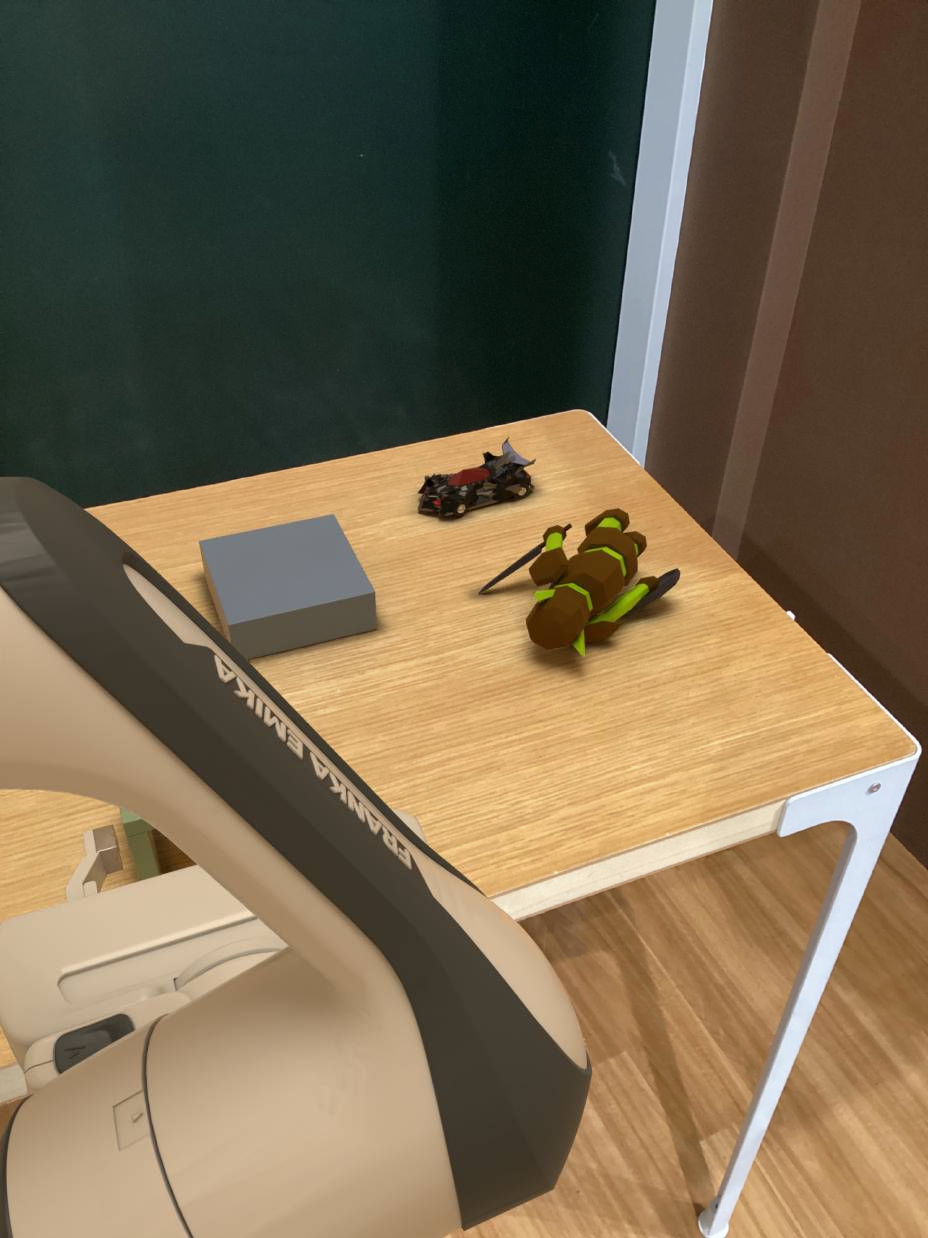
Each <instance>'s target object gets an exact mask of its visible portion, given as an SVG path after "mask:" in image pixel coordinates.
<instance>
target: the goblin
mask: <svg viewBox="0 0 928 1238" xmlns="http://www.w3.org/2000/svg"><path fill="white" fill-rule="evenodd" d="M630 524H631V522H630V516H629V512H626V511H624V510H623V509H621V508H618V507H617V508H611V509H606V510H604V511H602V512H601V513H600V514H598V515H597V516H595V517H594V518H592V519H591V520H589V521H588V522H586V523H585V524H584V532H585V536H586V537H585V538H584V539H583V541H581V542H580V544H579V545H578V547H577V548H576V551H577V554H574V555H572V556H571V557H569V559H568V556H567V554H566V552H565V551H564V549H563V547H564V546H563V545H564V543H563V542H564V541H565V539H566V538H567V536H568V535H567V531H569V530H570V529H572V528H573V525H572V524H571V523H568V524H566V525H565V526H561V525H560V524H556V525H552V526H549V527H547V529H546V530H545V532H544V533H543V534H542V539H543V542H541V543H539V544H537V545H536V546H535V547H534V548H532V549H531V550H529V551H528V552H527V553H525V554H524V555H523V556H521V557H520V558H519V559H517V560H516V561H515V562H513V563H512V564H511V565H510V566H509V565H508V567H507V568H506V569H504V570H503V571H501V572H500V573H499V574H498V575H496V576H494V578H492V579H491V580H490V581H489V582H487V583H486V584H485V585H484V586H483V587H482V588H481V589H480V591H478V593H477V595H480V594H481V593H484V592H486V591H488V590H490V589H491V588H492V587H494V586H495V585H497V584H498V583H500V582H501V581H503V580H504V579H505V578H507V577H509V576H510V575H512V574H513V573H515V572H516V571H518V570H519V569H521V568H522V567H524V566H525V565H527V564H528V563H530V562H531V561H532V560H534V559H535V558H536V559H535V560H534V562H533V563H532V564H531V565H530V566H529V568H528V572H529V576H530V577H531V580H532V581H533V584H534V585H535V586H536V587H537V588H539V587H542V586H546V585H549V584H550V585H549V586H548V588H546V589H543V590H541V589H540V590H537V591H536V592H535V593H534V594H533V596H534V598H535V599H536V603H535V604H534V605H533V608H532V609H531V611H530V612H529V613H528V615H527V616H526V617H525V626H526V629H527V632H528V636H529V640H530V641H531V642H532V643H533V644H534V645H537V646H538V647H540V648H542V649H544V650H545V651H551V650H552V651H553V650H557V649H563V648H567V647H568V646H570V645H572V646H573V647H574V648H575V650H576V651H577V652H578V653H579V654H580V655H581V656H582V657H583V658H585V657H586V645H585V642H588V643H597V642H599V641H602V640H604V639H607V638H610V637H611V636H612V635H613V634H615V633H616V632H617V631H618V630H619V629H620V628H621V626H622V625H623V624H622V623H619V622H616V621H617V620H619V619H621V617H623V616H624V615H626V614H631V615H633V614H635V613H637V612H640V611H642V610H644V609H646V608H647V607H649V606H650V605H652V604H653V603H655V602H656V601H658V600H660V599H661V598H662V597H663V596H664V595H665V594H667V593H668V592H669V591H671V590H672V589H673V588H674V587H675V586H677V584H678V583H679V581H680V579H681V570H680V569H679V568H678V567H677V568H674V569H672V570H669V571H666V572H665V573H662V574H661V575H660V576H659V577H657V576H655V575H651V576H644V577H641V578H640V579H639V580H638V581H637V582H636V583H635V585H634V586H633V587H632V588H631V589H630V590H628V591H626V592H625V593H624V594H622V595H621V596H620V597H618V598H617V596H619V594H620V593H621V592H622V591H623V589H624V588H625V587H628V585H629V584H630V582H631V581H632V580H633V578H634V577H635V576H636V575H637V573H638V571H639V561H638V560H639V559H638V558H640V556H641V555H642V554H643V553H644V552H645V551H646V549H647V546H648V542H647V536H646V535H644V534H642V533H640V532H639V531H636V530H633V531H627V532H625V531H626V530H627V529H628V527H629V525H630ZM544 548H545V549H544ZM543 549H544V551H543ZM542 551H543V552H542ZM616 598H617V599H616ZM615 599H616V600H615ZM614 600H615V601H614ZM613 601H614V602H613ZM612 602H613V603H612Z"/></svg>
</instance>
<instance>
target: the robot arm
mask: <svg viewBox="0 0 928 1238" xmlns="http://www.w3.org/2000/svg"><path fill="white" fill-rule="evenodd" d="M0 790H1V791H2V790H22V791H24V790H26V791H27V790H28V791H46V792H53V793H54V792H55V793H63V794H71V795H75V796H79V797H84V798H88V799H92V800H97V801H100V802H101V803H102V802H103V803H106V804H108V805H111V806H114V807H117V808H122V809H124V810H126V811H128V812H130V813H132V814H134V815H136V816H138V817H139V818H141V819H143V820H144V821H146V822H147V823H149V824H150V825H152V826H153V827H154V828H156V829H155V830H157V831H158V832H159V833H161V834H162V835H163V836H165V837H166V838H167V839H168V840H169V841H170V842H171V843H173V844H174V846H175V847H177V848H178V849H179V850H180V851H181V852H183V853H184V854H185V855H186V856H187V857H188V858H189V859H190V860H191V861H193V862H194V863H195V864H194V865H191V866H187V867H184V868H180V869H177V870H172V871H170V872H166V873H161V875H159V876H155V877H152V878H148V879H145V880H141V881H139V880H138V881H135V882H131V883H128V884H124V885H120V886H117V887H114V888H110V889H107V890H103V891H101V889H102V887H103V885H104V883H105V881H106V879H107V877H108V875H111V874H114V873H117V872H120V871H124V866H123V859H122V856H121V849H120V844H119V841H118V836H117V834H116V830H115V826H114V824H109V825H108V824H107V825H105V826H101V827H97V828H93V829H89V830H85V831H82V839H83V848H84V854H85V855H84V856H82V857H81V860H80V861H79V863H78V865H77V867H76V868H75V870H74V872H73V874H71V877H70V878H69V881H68V882H67V884H66V885H65V887H64V889H65V891H64V892H65V899H66V901H65V902H60V903H58V904H54V905H51V906H48V907H44V908H40V909H37V910H33V911H30V912H26V913H22V914H19V915H16V916H11V917H9V918H6V919H4V920H2V921H1V922H0V1028H1V1030H2V1032H3V1035H4V1037H5V1039H6V1041H7V1044H8V1045H9V1048H10V1050H11V1052H12V1054H13V1056H14V1058H15V1060H16V1062H17V1064H18V1066H19V1067H20V1069H21V1071H22V1073H23V1074H24V1080H25V1086H26V1090H27V1094H28V1095H27V1096H26V1097H25V1098H24V1099H22V1101H21V1102H19V1104H18V1105H17V1107H16V1108H15V1110H14V1111H13V1114H12V1115H11V1116H10V1119H9V1120H8V1122H7V1124H6V1126H5V1129H4V1131H3V1133H2V1135H1V1138H0V1238H446V1237H447V1236H449V1235H450V1234H452V1233H454V1232H456V1231H458V1230H459V1229H462V1231H463V1232H466V1231H468V1230H470V1229H472V1228H474V1227H476V1226H479V1225H481V1224H483V1223H485V1222H487V1221H489V1220H491V1219H493V1218H496V1217H498V1216H500V1215H502V1214H504V1213H507V1212H509V1211H511V1210H513V1209H515V1208H517V1207H520V1206H521V1205H524V1204H526V1203H528V1202H530V1201H533V1200H534V1199H537V1198H539V1197H542V1196H543V1195H545V1194H547V1193H550V1192H552V1191H554V1190H555V1188H556V1186H557V1183H558V1181H559V1178H560V1176H561V1174H562V1171H563V1170H564V1167H565V1165H566V1162H567V1160H568V1157H569V1155H570V1153H571V1150H572V1148H573V1145H574V1143H575V1139H576V1137H577V1134H578V1131H579V1129H580V1124H581V1122H582V1119H583V1115H584V1110H585V1107H586V1105H587V1099H588V1095H589V1091H590V1087H591V1082H592V1081H591V1080H592V1076H593V1067H592V1063H591V1060H590V1055H588V1051H587V1049H586V1044H585V1041H584V1037H583V1031H582V1028H581V1025H580V1022H579V1018H578V1017H577V1013H576V1010H575V1008H574V1006H573V1004H572V1001H571V1000H570V999H571V998H570V997H569V995H568V993H567V990H566V988H565V987H564V985H563V983H562V981H561V979H560V977H559V976H558V974H557V971H556V970H555V969H554V967H553V965H552V964H551V962H550V961H549V960H548V958H547V957H546V955H545V954H544V952H543V951H542V949H540V946H539V945H538V944H537V943H536V941H534V939H532V937H531V936H530V935H529V933H528V932H527V931H526V930H525V929H524V928H523V927H522V926H521V925H520V924H519V922H518V921H516V920H515V919H514V918H512V916H511V915H510V914H508V913H507V912H506V911H505V910H504V909H503V908H502V907H500V906H499V905H498V904H496V903H495V902H494V901H493V900H491V899H490V898H489V897H488V896H487V895H486V894H485V893H484V892H483V891H482V890H481V889H480V888H479V887H477V885H475V883H473V881H471V880H470V879H469V878H468V877H466V876H465V875H464V874H463V873H462V872H461V871H459V870H458V868H456V867H454V865H453V864H451V863H450V862H449V861H447V860H446V858H444V857H443V856H441V854H439V852H436V851H435V850H434V849H433V848H432V847H430V846H429V843H428V840H427V837H426V835H425V832H424V830H423V827H422V825H421V823H420V821H419V819H417V817H416V816H414V815H412V814H410V813H408V812H406V811H403V810H401V809H399V808H391V807H390V806H389V805H388V804H387V803H386V802H385V801H384V800H383V799H382V798H381V797H380V796H379V795H378V794H377V793H376V792H375V791H374V790H373V788H371V786H369V784H368V783H367V782H366V781H364V779H362V777H361V776H360V775H359V774H358V773H357V772H356V771H355V770H354V769H353V768H352V767H351V766H350V765H349V764H348V762H346V761H345V760H344V758H343V757H342V756H340V754H338V752H337V751H336V750H335V749H334V748H333V747H332V746H331V745H330V744H329V743H328V742H327V741H326V739H324V738H323V737H322V736H321V735H320V734H319V733H318V731H316V729H314V728H313V726H312V725H310V723H308V721H307V720H306V719H305V718H304V717H303V716H302V715H301V714H300V713H299V712H298V711H297V710H296V709H295V707H293V705H291V703H289V702H288V701H287V700H286V698H284V696H283V695H282V694H281V693H280V692H279V691H278V690H277V689H276V688H275V687H274V685H272V684H271V683H270V682H269V681H268V680H267V679H266V677H264V676H263V674H262V673H260V671H259V670H257V669H256V667H255V666H253V664H251V662H249V660H246V659H245V658H244V657H243V656H242V655H241V654H240V652H239V651H238V650H237V649H236V648H235V647H234V646H233V645H232V644H231V643H230V642H229V641H228V640H227V639H226V637H225V635H223V634H222V633H221V632H220V631H218V629H216V627H215V626H213V625H212V623H211V622H210V621H209V620H207V618H206V617H205V616H203V615H202V613H200V612H199V611H198V609H196V607H195V606H193V605H192V604H191V603H190V602H189V600H187V599H186V598H185V597H184V596H183V594H181V592H179V591H178V590H177V589H176V588H175V587H174V586H173V585H172V584H171V583H170V582H169V581H168V580H167V579H166V578H165V577H164V576H163V575H161V574H160V572H158V571H157V569H155V568H154V567H153V565H151V564H150V563H149V562H148V561H147V560H146V559H145V558H144V557H142V556H141V555H140V553H139V552H137V551H136V550H135V549H134V548H133V547H131V546H130V545H129V544H128V543H127V542H125V540H123V538H121V537H120V536H119V535H118V534H116V533H115V532H114V531H113V530H112V529H111V528H110V527H108V526H107V525H106V524H104V523H103V522H102V521H101V520H100V519H98V518H97V517H96V516H94V515H92V513H90V512H88V511H87V510H86V509H84V508H83V507H82V506H80V505H79V504H78V503H76V502H75V501H73V500H72V499H70V498H69V497H67V496H65V495H64V494H62V493H61V492H59V491H58V490H55V489H54V488H52V487H51V486H50V485H48V484H46V483H44V482H42V481H40V480H39V479H36V478H34V477H29V476H0Z"/></svg>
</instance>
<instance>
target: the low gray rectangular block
mask: <svg viewBox="0 0 928 1238" xmlns="http://www.w3.org/2000/svg"><path fill="white" fill-rule="evenodd" d="M198 544H199V550H200V551H199V552H200V556H201V562H202V563H201V564H202V569H203V574H204V579H205V581H206V582H205V583H206V585H207V587H208V591H209V593H210V596H211V599H212V602H213V605H214V609H215V611H216V614H217V616H218V620H219V622H220V626H221V628H222V631H223V634H224V637H225V638H226V639H227V640H228V641H229V642H230V643H231V644H232V645H233V646H234V647H235V648H236V649H237V650H238V651H239V652H240V654H241V655H242V656H243V657H244V658H245V659H246V660H247V661H249V660H252V659H256V658H260V657H264V656H269V655H274V654H278V653H281V652H282V653H283V652H285V651H290V650H295V649H298V648H303V647H307V646H311V645H316V644H320V643H325V642H328V641H333V640H338V639H341V638H345V637H349V636H354V635H359V634H362V633H366V632H371V631H376V630H377V629H378V620H377V601H376V600H377V599H376V591H375V588H374V587H373V585H372V583H371V581H370V579H369V577H368V576H367V573H366V572H365V570H364V568H363V566H362V564H361V562H360V560H359V559H358V556H357V555H356V553H355V551H354V549H353V547H352V546H351V543H350V541H349V539H348V538H347V536H346V534H345V532H344V530H343V528H342V527H341V525H340V523H339V521H338V519H337V517H336V515H335V514H334V513H331V514H326V515H321V516H315V517H311V518H306V519H301V520H295V521H291V522H286V523H280V524H276V525H271V526H266V527H262V528H256V529H251V530H245V531H241V532H236V533H230V534H226V535H222V536H216V537H210V538H206V539H202V540H199V541H198Z"/></svg>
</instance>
